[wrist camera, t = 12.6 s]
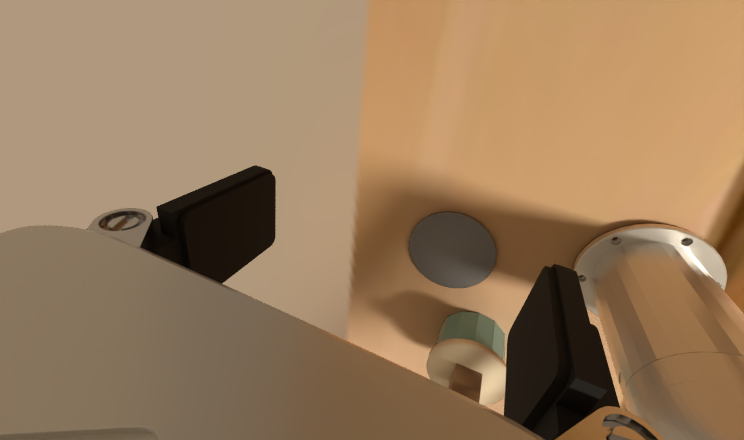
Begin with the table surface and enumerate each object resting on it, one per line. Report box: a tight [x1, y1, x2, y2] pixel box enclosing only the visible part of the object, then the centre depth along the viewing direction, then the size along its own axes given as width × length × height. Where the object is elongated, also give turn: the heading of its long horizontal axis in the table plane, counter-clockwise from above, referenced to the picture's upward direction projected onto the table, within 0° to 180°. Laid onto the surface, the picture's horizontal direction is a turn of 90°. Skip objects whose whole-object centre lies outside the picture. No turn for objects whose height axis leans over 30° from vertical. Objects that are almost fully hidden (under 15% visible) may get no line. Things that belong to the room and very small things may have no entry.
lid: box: [427, 338, 506, 405], centre depth 39 cm, size 10×10×6 cm
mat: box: [409, 212, 496, 288], centre depth 42 cm, size 11×11×1 cm
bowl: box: [436, 311, 505, 361], centre depth 44 cm, size 9×9×6 cm
